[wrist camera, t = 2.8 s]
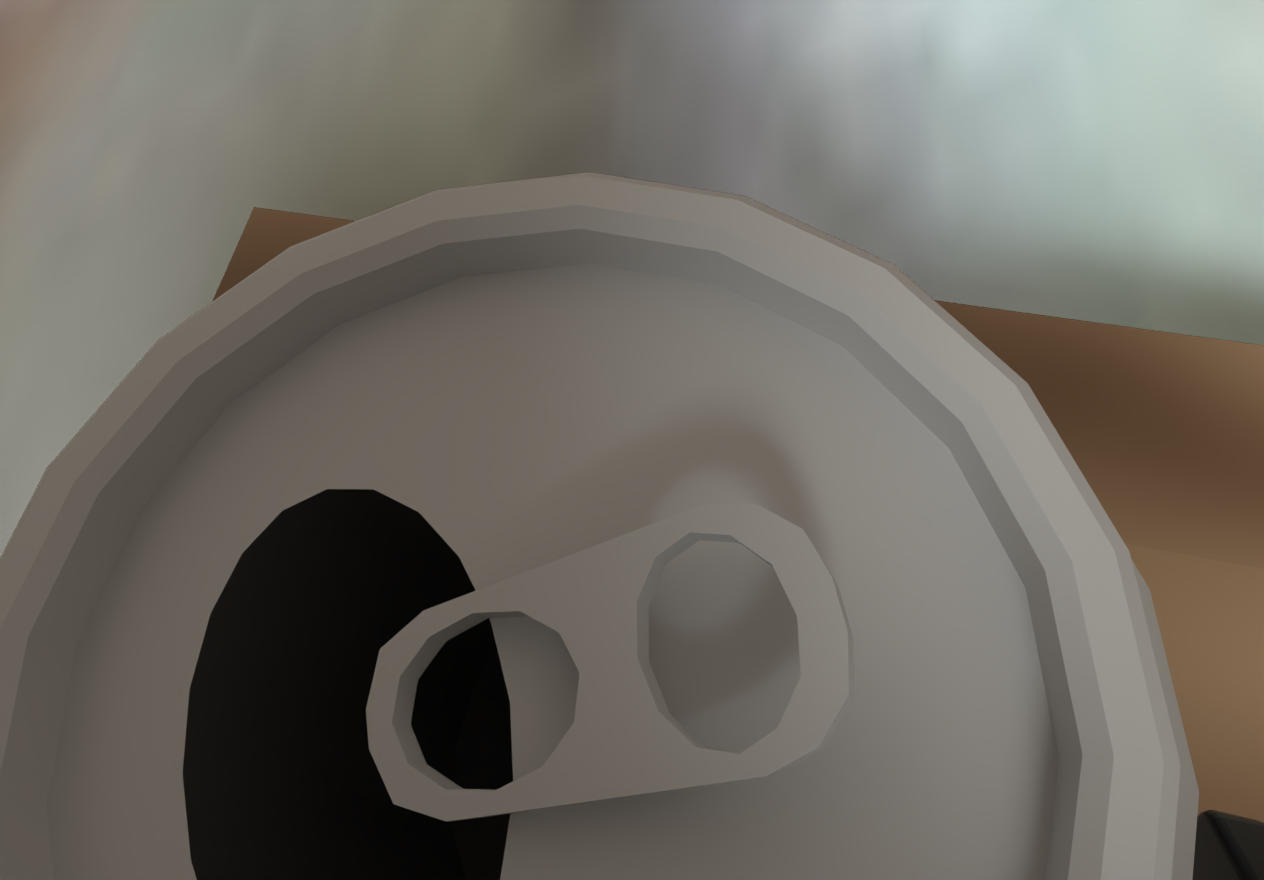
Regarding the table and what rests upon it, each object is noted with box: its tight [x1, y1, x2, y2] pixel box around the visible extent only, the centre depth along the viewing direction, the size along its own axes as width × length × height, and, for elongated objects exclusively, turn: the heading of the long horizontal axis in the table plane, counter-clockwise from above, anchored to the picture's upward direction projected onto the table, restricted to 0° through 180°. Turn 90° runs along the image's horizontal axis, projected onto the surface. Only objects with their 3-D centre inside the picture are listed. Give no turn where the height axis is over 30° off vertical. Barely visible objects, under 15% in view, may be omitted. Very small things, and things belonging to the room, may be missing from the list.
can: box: [0, 172, 1199, 880], centre depth 10 cm, size 8×8×12 cm
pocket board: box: [213, 207, 1264, 823], centre depth 15 cm, size 14×20×2 cm
